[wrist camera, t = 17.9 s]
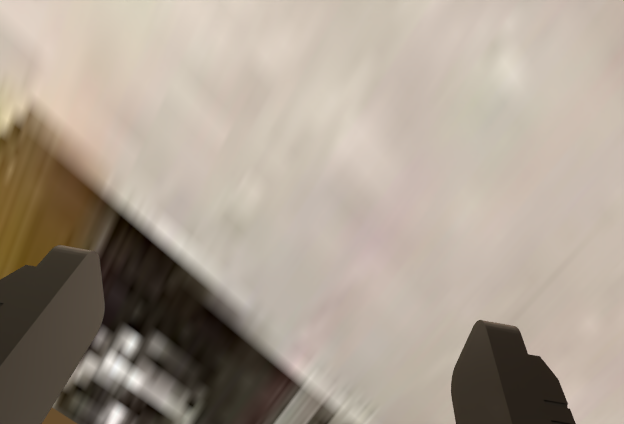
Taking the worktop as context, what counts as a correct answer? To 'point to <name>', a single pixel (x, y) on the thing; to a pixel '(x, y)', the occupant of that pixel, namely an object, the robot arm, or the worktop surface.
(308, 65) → the worktop surface
